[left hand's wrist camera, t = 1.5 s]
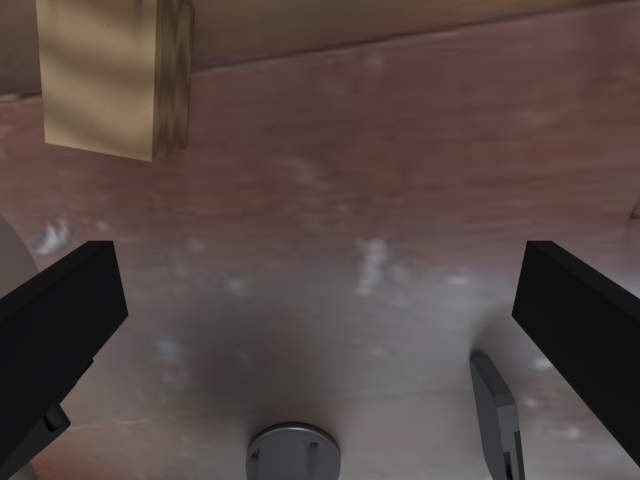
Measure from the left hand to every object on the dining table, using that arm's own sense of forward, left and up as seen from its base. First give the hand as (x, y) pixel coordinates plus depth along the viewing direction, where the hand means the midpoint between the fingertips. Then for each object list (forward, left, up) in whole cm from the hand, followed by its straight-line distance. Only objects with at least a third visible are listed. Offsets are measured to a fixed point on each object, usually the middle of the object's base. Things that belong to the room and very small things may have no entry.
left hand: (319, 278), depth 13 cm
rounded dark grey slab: (+35, +32, -36) cm, 60 cm away
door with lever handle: (-4, -20, -27) cm, 34 cm away
